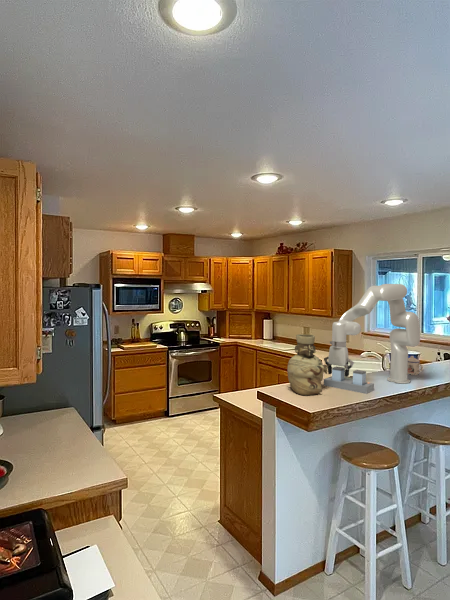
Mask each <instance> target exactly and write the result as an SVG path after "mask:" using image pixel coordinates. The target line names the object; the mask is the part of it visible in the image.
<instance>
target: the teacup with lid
mask: <svg viewBox="0 0 450 600" xmlns="http://www.w3.org/2000/svg"><path fill="white" fill-rule="evenodd" d="M420 367H421V369H420ZM423 370H424V366H423V364H421V363H420V359H417V358H416V357H414V355H410V356H409V357H408V373H407V375H408V374H411V375H410V376H418V375H417V374H420V373H421V372H422V371H423Z"/></svg>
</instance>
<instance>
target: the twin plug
mask: <svg viewBox="0 0 450 600" xmlns="http://www.w3.org/2000/svg"><path fill="white" fill-rule="evenodd" d="M352 378H353V384H357V385H365V384H366V382H367V370H360V369H356V370H353V371H352Z"/></svg>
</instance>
